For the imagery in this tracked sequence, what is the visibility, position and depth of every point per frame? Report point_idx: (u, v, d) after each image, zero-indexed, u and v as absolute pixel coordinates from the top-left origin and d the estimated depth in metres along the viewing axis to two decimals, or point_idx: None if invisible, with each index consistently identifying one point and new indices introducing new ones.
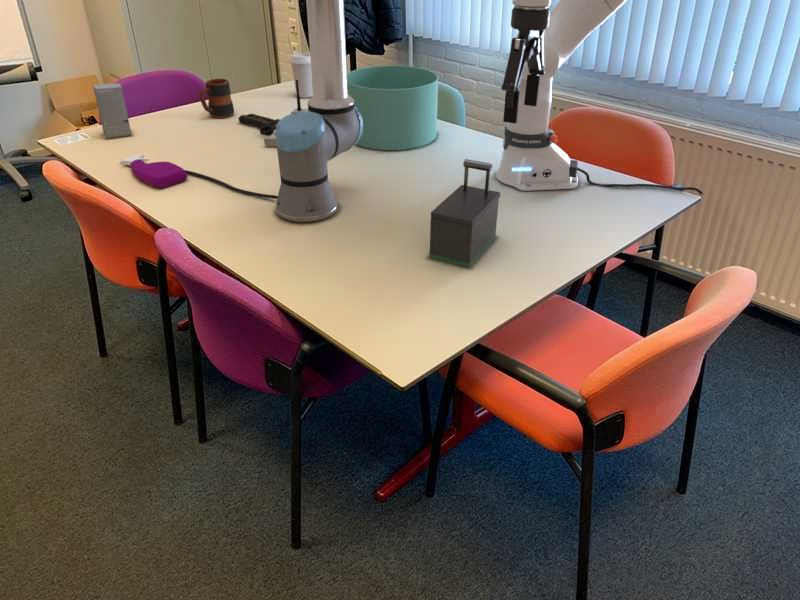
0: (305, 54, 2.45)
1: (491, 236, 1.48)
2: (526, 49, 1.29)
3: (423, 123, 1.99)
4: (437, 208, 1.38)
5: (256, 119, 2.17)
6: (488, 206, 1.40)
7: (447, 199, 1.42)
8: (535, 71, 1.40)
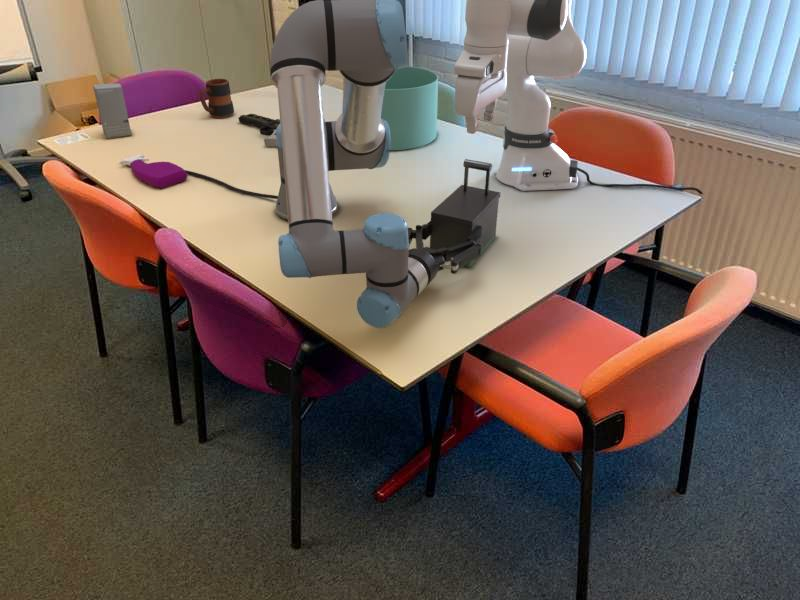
0: None
1: (491, 236, 1.48)
2: None
3: (423, 123, 1.99)
4: (437, 208, 1.38)
5: (256, 119, 2.17)
6: (488, 206, 1.40)
7: (447, 199, 1.42)
8: None
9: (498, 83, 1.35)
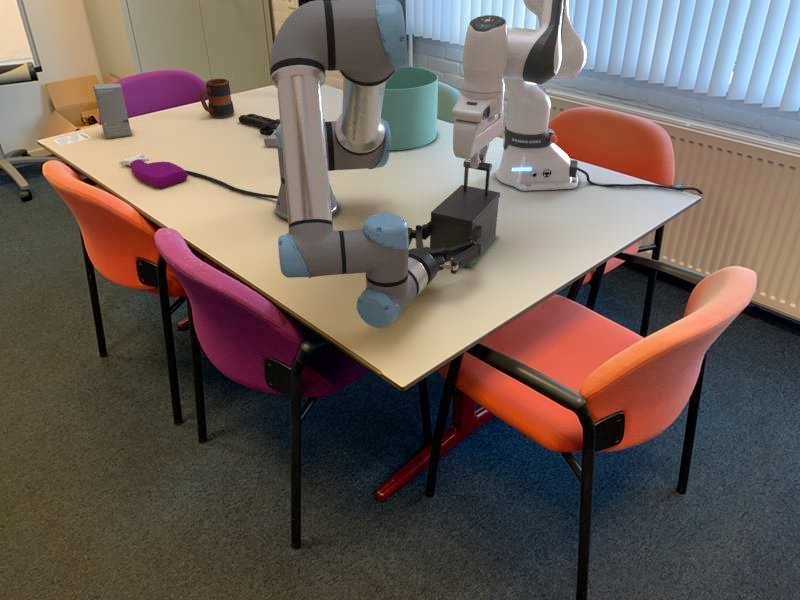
0: None
1: (491, 236, 1.48)
2: None
3: (423, 123, 1.99)
4: (437, 208, 1.38)
5: (256, 119, 2.17)
6: (488, 206, 1.40)
7: (447, 199, 1.42)
8: None
9: (495, 124, 1.39)
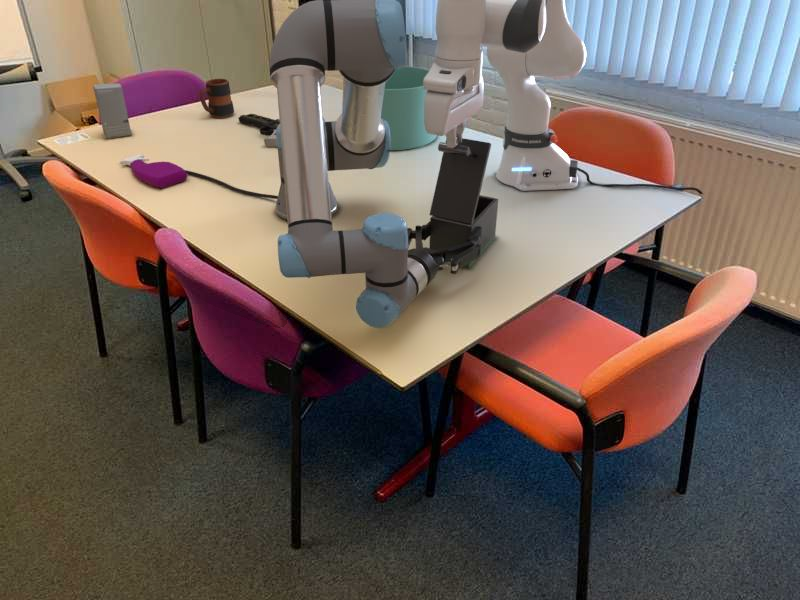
0: None
1: (491, 236, 1.48)
2: None
3: (423, 123, 1.99)
4: (433, 204, 1.36)
5: (256, 119, 2.17)
6: (482, 179, 1.32)
7: (439, 179, 1.35)
8: None
9: (473, 99, 1.24)
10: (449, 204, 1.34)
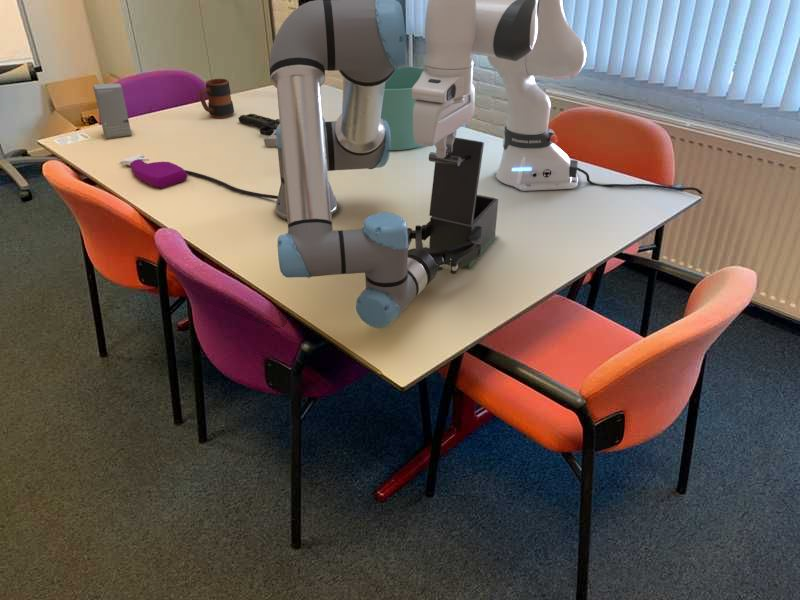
0: None
1: (491, 236, 1.48)
2: None
3: None
4: (432, 205, 1.35)
5: (256, 119, 2.17)
6: (477, 180, 1.30)
7: (435, 180, 1.33)
8: None
9: (463, 108, 1.21)
10: (447, 205, 1.34)
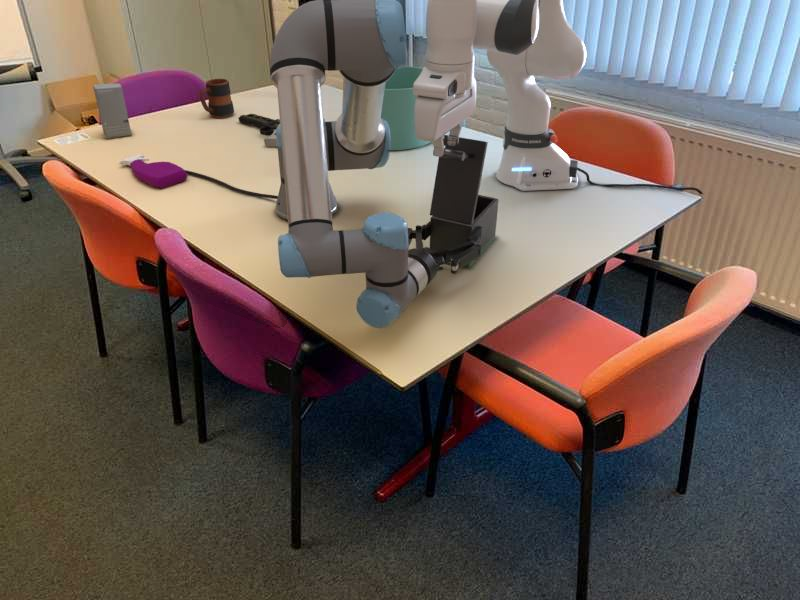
0: None
1: (491, 236, 1.48)
2: None
3: None
4: (433, 204, 1.36)
5: (256, 119, 2.17)
6: (479, 179, 1.31)
7: (437, 179, 1.34)
8: None
9: (465, 102, 1.21)
10: (448, 204, 1.34)
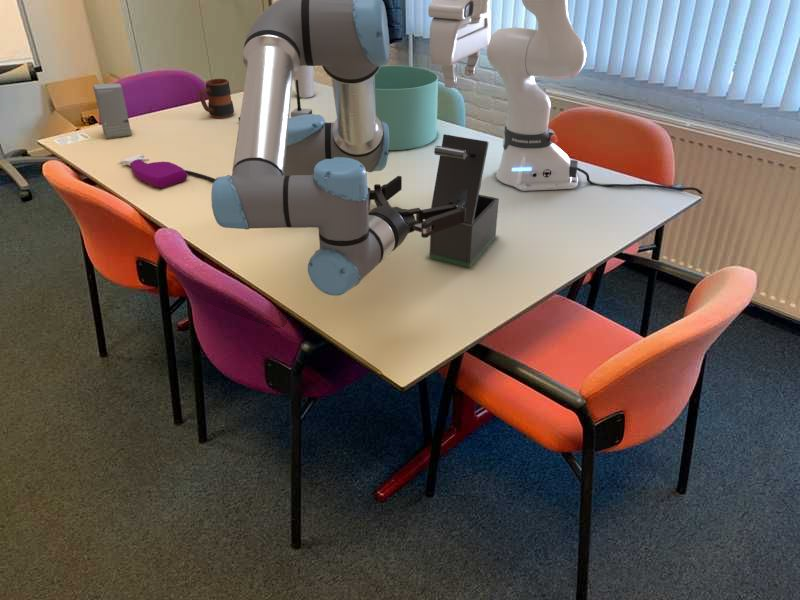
0: None
1: (491, 236, 1.48)
2: None
3: (423, 123, 1.99)
4: (433, 204, 1.36)
5: None
6: (480, 179, 1.31)
7: (438, 179, 1.34)
8: None
9: (480, 31, 1.19)
10: None
